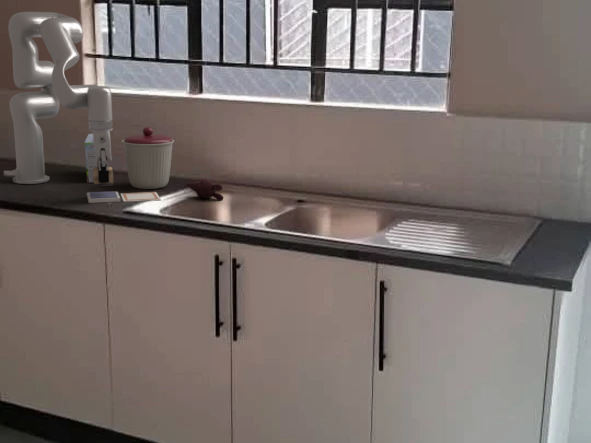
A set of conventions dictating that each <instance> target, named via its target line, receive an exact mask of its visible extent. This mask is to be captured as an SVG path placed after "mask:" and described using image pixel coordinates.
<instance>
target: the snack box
mask: <svg viewBox="0 0 591 443" xmlns="http://www.w3.org/2000/svg"><path fill="white" fill-rule="evenodd" d="M83 143H84V154H85V170H86V172H85V173H86V183H87V184H94V183H93V168H97V167H98V165H97V161H96V158H95V153H94V143H93V133H88V134H87V137H86V139H85V140H84V142H83Z"/></svg>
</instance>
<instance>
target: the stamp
mask: <svg viewBox="0 0 591 443" xmlns="http://www.w3.org/2000/svg"><path fill="white" fill-rule="evenodd" d="M100 164H101V163H100ZM98 170H99V163H98V168H93V183H92V184H93V186H94V187H102V186H103V187H106V186H114V171H113V167H111V166H108V170H109V182H108V183H99V176H98Z"/></svg>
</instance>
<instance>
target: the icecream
mask: <svg viewBox="0 0 591 443" xmlns="http://www.w3.org/2000/svg"><path fill="white" fill-rule="evenodd" d="M185 186H187V187H188V188H189V189H191V190H192V191H194V192H195V193H196V196H197V197H198V198H199V199H205V200H207V199H211V198H212V197H213V198H214V199H215V200H218V201H222V200H223V199H224V196H223V195H222V194H221V193H219V192H220V191H222V190H223V185H222V184H221V183H214V182H213V180H210V179H208V178H207V177H205V178H202V179H201V180H200V181H199V180H197V181H193V182H187V183H185Z"/></svg>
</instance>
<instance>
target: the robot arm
mask: <svg viewBox="0 0 591 443" xmlns="http://www.w3.org/2000/svg"><path fill="white" fill-rule="evenodd" d="M7 27H8V29H7V30H8V35H9V40H10V43H11V49H12V74H13V75H12V76H13V82H14V85H15V86H16V87H17V88H19V89H23V90H24V89H25V90H29V89H33V90H34V89H40V91H29V92H20V93H16V94H15V95H13V96H12V97H11V98H10V100H9V111H10V115H11V118H12V123H13V132H14V144H15V145H14V148H15V161H16V168H15V169H12V170H3V176H4V177H13V178H12V183H15V184H19V185H37V184H43V183H47V182H50V176H49V175H46V173H45V171H46V170H45V154H44V137H43V135H44V134H43V130H42V128H41V126H40V125H39V124H38V122H37V120H40V119H41V120H42V119H50V118H55V117H56V116H58V113H59V112H60V106H62V107H63V108H65V109H67V110H80V109H87V115H88V116H87V117H88V131H90V132H92V134H93V143H94V153H95V158H96V161H97V165H98V163H99V170H98V176H99V183H108V182H109V170H108V167H109V165H108V161H109V162H112V161H113V158H112V142H111V140H112V138H111V131H113V129H114V128H113V127H114V126H113V124H114V123H113V122H114V121H113V103H112V90H111V88H110V87H107V86H98V85H96V84H74V85H73V84H72V85H70V84H69V82H68V80H67V78H66V76H65V71H67V70H68V69H70V68H72V67H74V66H75V65H76V64H77V63H78V62H79V61H80V53H79V51H78V50H77V48H76V46H75V44H78V43H80V42H81V41H82V40H83V38H84V29H83V26H82V25H81V22H79V21H78V20H77V19H76V18H74V17H71V16H69V15H65V14H62V13H59V12H53V11H52V12H51V11H48V12H47V11H20V12H17V13H15V14H13V15H12V16H11V17H10V19H9V21H8V26H7ZM33 38H42V41H43V43H44V45H45V47H46V49H47V51H48V53H49V55H50V57H51V59H52V61H49V60H40V59H39V48H38V46H37V44H36V42H35V40H34V39H33ZM100 163H101V164H100ZM97 168H98V167H97Z"/></svg>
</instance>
